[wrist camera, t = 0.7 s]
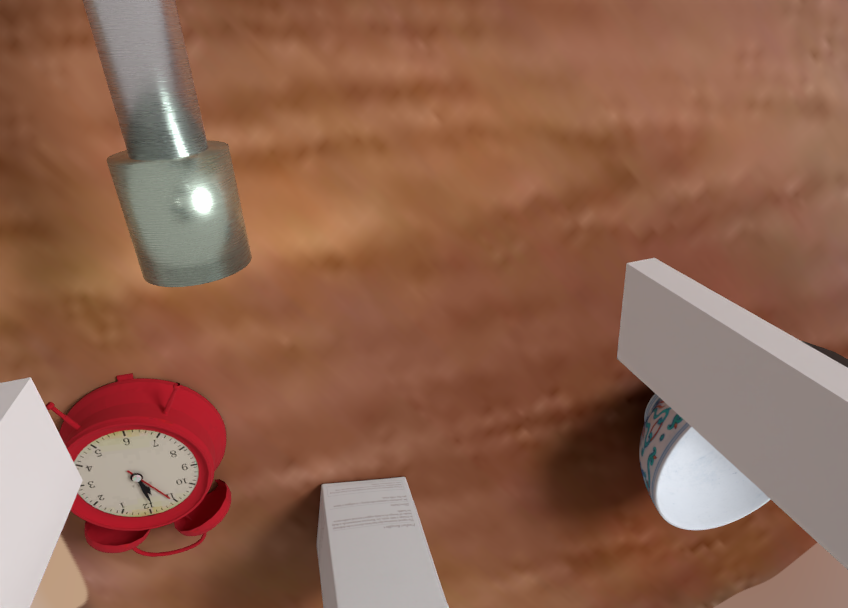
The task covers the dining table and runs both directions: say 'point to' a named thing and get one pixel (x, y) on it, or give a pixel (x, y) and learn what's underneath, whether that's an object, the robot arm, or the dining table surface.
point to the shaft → (166, 149)
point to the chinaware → (691, 474)
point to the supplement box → (374, 548)
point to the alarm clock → (145, 462)
